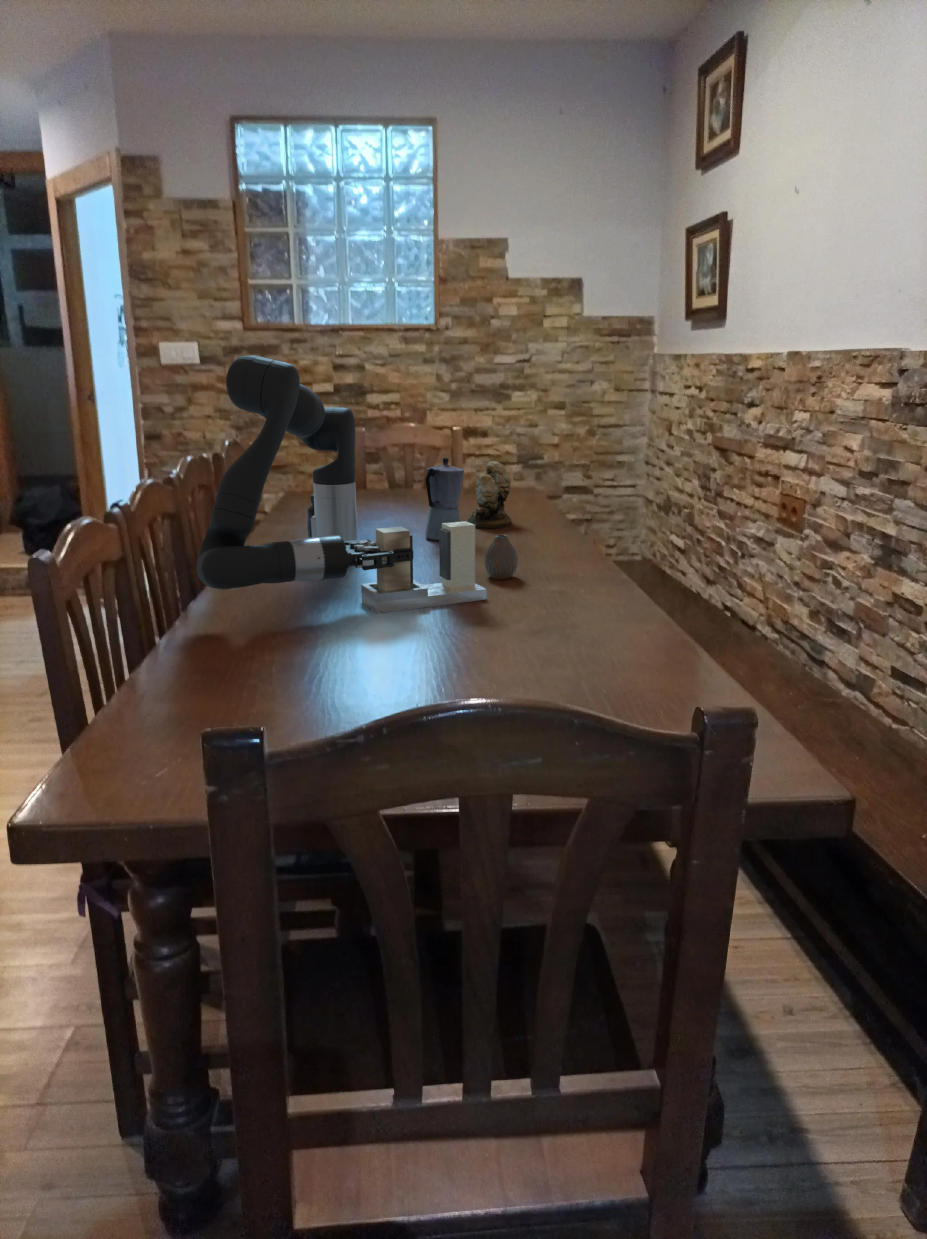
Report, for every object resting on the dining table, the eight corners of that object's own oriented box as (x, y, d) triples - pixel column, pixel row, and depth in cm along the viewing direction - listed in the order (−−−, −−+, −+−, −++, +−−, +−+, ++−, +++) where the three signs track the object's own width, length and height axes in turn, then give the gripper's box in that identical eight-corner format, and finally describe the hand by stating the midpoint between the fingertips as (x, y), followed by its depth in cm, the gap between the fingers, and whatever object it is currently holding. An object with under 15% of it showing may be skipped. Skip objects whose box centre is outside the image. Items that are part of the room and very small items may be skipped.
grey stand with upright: (376, 613, 154) (374, 536, 150) (361, 602, 161) (359, 528, 157) (486, 599, 163) (487, 526, 159) (468, 589, 170) (468, 518, 166)
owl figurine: (474, 517, 247) (475, 456, 242) (514, 519, 245) (516, 458, 240) (462, 528, 230) (463, 463, 225) (506, 530, 228) (508, 465, 223)
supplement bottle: (302, 544, 210) (299, 494, 207) (324, 539, 215) (322, 491, 212) (320, 548, 206) (317, 497, 202) (342, 543, 211) (340, 494, 207)
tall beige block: (385, 598, 156) (383, 532, 152) (377, 593, 159) (375, 528, 156) (413, 594, 158) (412, 530, 155) (405, 589, 162) (404, 526, 158)
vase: (515, 582, 176) (515, 539, 173) (481, 580, 177) (482, 538, 174) (519, 574, 182) (520, 533, 179) (487, 572, 183) (487, 531, 181)
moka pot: (473, 535, 221) (473, 456, 216) (446, 546, 208) (446, 462, 202) (439, 532, 225) (439, 454, 219) (411, 543, 212) (410, 460, 206)
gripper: (327, 545, 143) (420, 537, 150) (304, 530, 156) (391, 523, 163) (329, 589, 145) (420, 579, 152) (306, 570, 158) (391, 562, 165)
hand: (405, 550), depth 157 cm, fingers open, 6 cm apart
